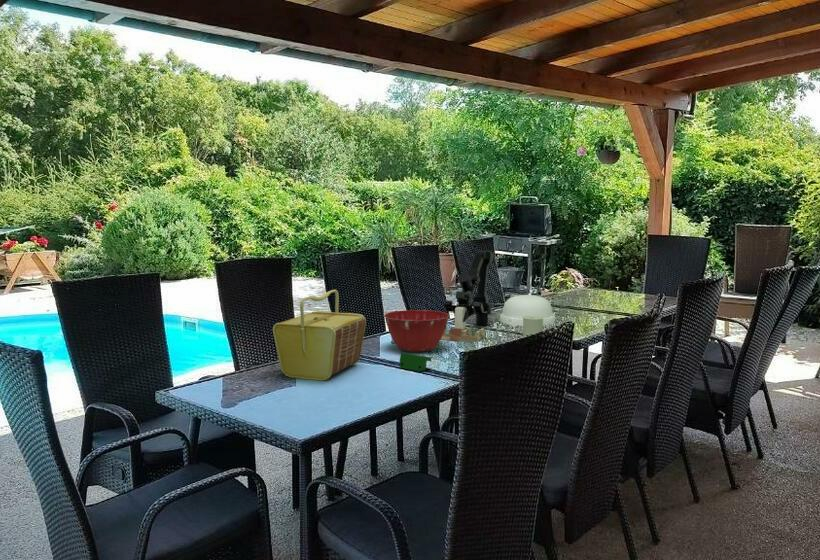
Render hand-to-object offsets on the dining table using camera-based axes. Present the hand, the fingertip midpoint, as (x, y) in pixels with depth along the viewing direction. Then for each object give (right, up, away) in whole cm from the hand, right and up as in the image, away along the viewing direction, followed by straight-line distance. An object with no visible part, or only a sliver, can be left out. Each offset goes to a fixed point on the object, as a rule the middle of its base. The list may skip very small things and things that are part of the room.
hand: (459, 321), depth 295 cm
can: (+33, -9, -7) cm, 35 cm away
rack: (+1, -8, +2) cm, 9 cm away
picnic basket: (-57, -16, -54) cm, 80 cm away
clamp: (-21, -15, -52) cm, 58 cm away
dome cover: (+41, -3, +46) cm, 61 cm away
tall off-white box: (+1, -6, +2) cm, 7 cm away
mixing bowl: (-20, -11, -19) cm, 30 cm away
